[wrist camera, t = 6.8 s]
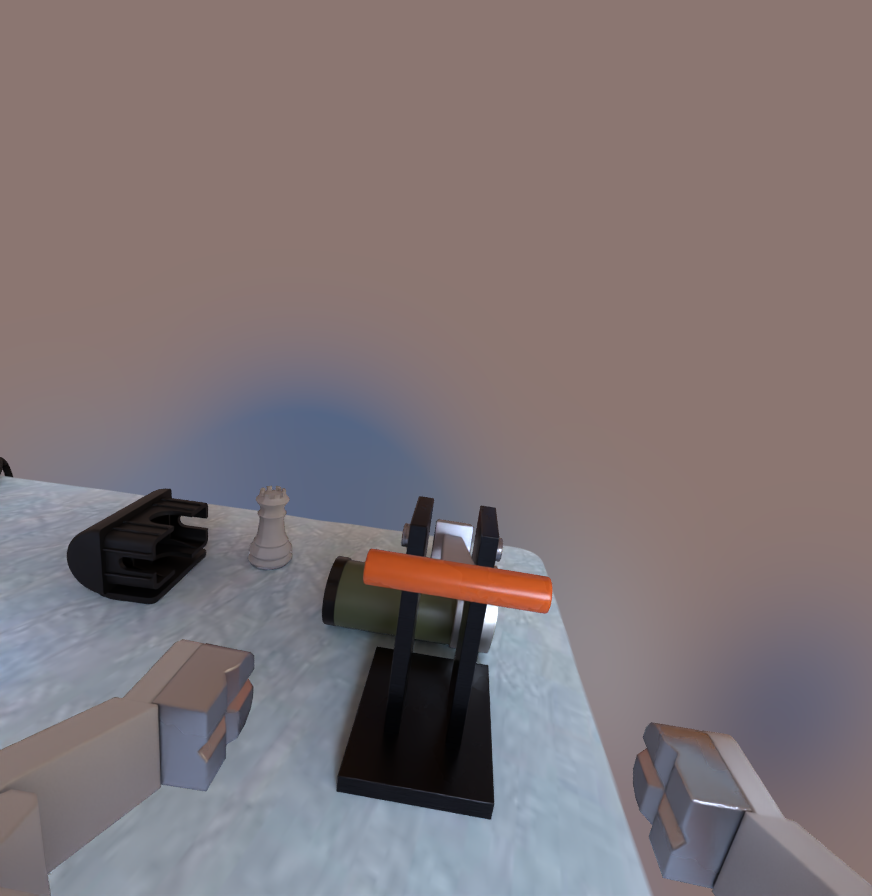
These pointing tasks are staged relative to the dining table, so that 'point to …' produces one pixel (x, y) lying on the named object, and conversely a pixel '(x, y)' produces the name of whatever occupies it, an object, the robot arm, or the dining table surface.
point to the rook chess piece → (271, 531)
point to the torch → (393, 608)
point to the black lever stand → (428, 704)
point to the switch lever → (457, 573)
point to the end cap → (140, 548)
